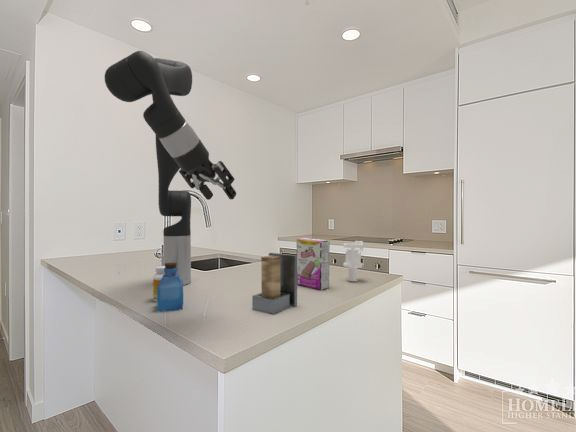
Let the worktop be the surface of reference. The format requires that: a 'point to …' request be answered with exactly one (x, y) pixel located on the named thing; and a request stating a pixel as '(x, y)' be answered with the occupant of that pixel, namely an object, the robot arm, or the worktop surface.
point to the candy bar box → (313, 263)
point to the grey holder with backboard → (286, 287)
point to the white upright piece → (353, 259)
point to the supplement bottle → (157, 280)
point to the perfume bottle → (170, 289)
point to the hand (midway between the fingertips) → (221, 197)
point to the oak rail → (271, 276)
